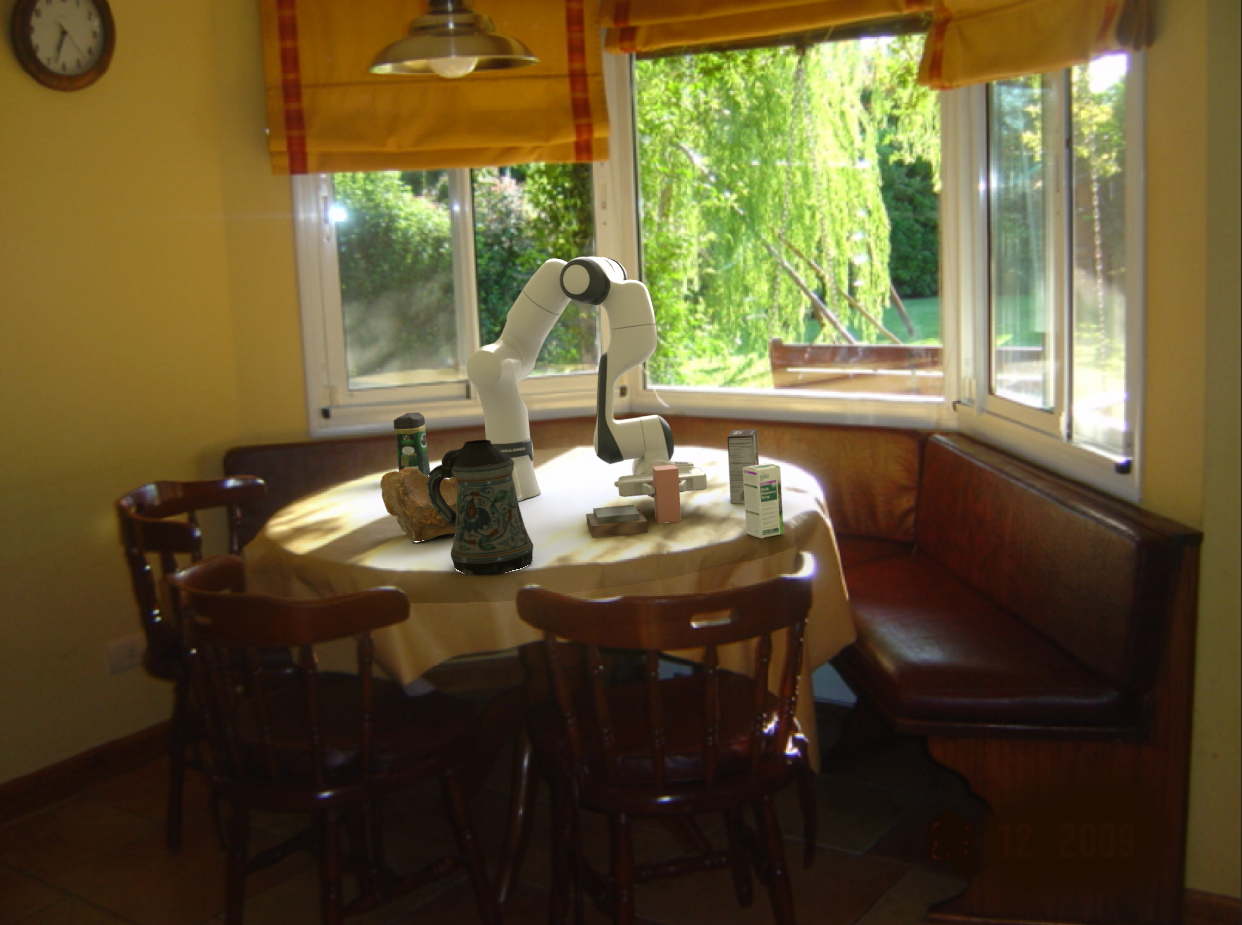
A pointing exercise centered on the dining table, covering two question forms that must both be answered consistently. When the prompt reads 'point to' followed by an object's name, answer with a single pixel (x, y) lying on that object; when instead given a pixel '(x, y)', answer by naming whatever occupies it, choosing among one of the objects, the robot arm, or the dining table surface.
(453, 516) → the beer stein
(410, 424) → the coffee jar
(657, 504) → the carton
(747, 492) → the syrup box
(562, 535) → the dining table surface
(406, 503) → the rough brown rock
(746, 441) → the coffee box
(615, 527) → the podium
